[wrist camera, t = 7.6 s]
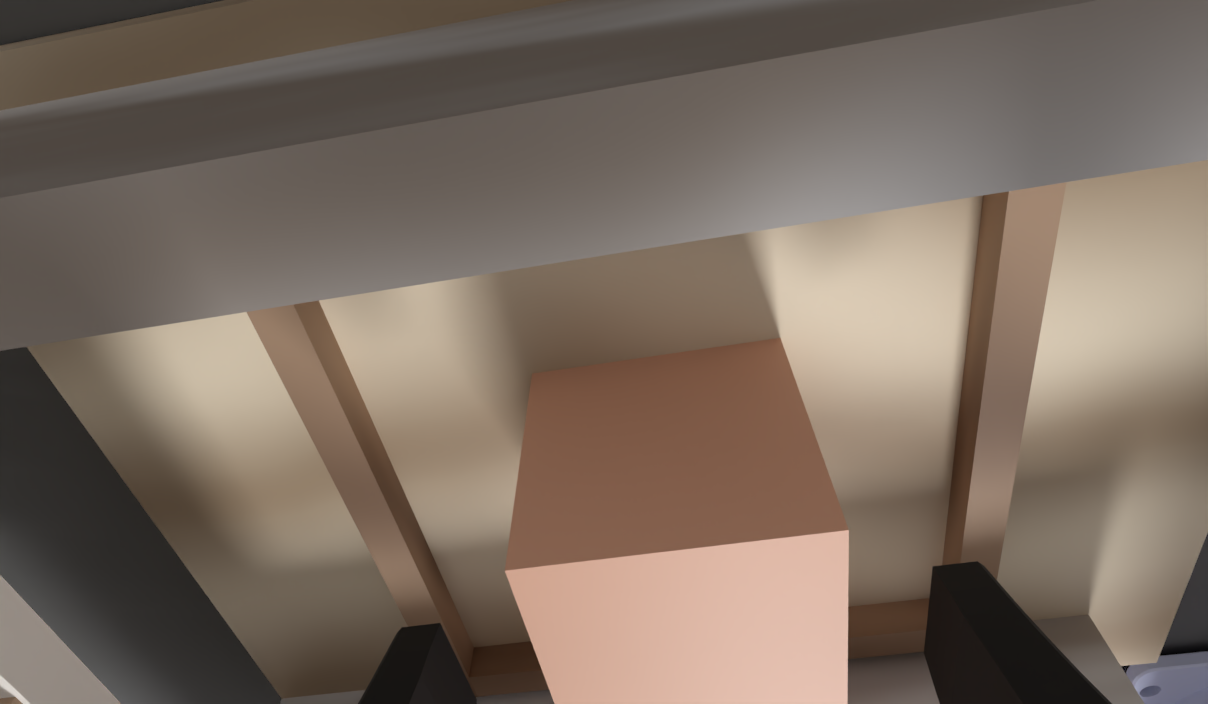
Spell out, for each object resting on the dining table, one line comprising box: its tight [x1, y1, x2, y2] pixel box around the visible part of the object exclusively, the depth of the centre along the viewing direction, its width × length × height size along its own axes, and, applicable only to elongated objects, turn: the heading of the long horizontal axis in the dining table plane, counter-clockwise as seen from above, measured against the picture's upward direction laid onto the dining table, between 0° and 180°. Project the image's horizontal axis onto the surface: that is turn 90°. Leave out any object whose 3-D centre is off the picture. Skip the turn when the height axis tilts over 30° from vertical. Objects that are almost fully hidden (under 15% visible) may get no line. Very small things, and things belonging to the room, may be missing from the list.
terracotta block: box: [505, 338, 849, 704], centre depth 13 cm, size 4×4×4 cm
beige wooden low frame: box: [0, 0, 1208, 704], centre depth 13 cm, size 18×22×6 cm
